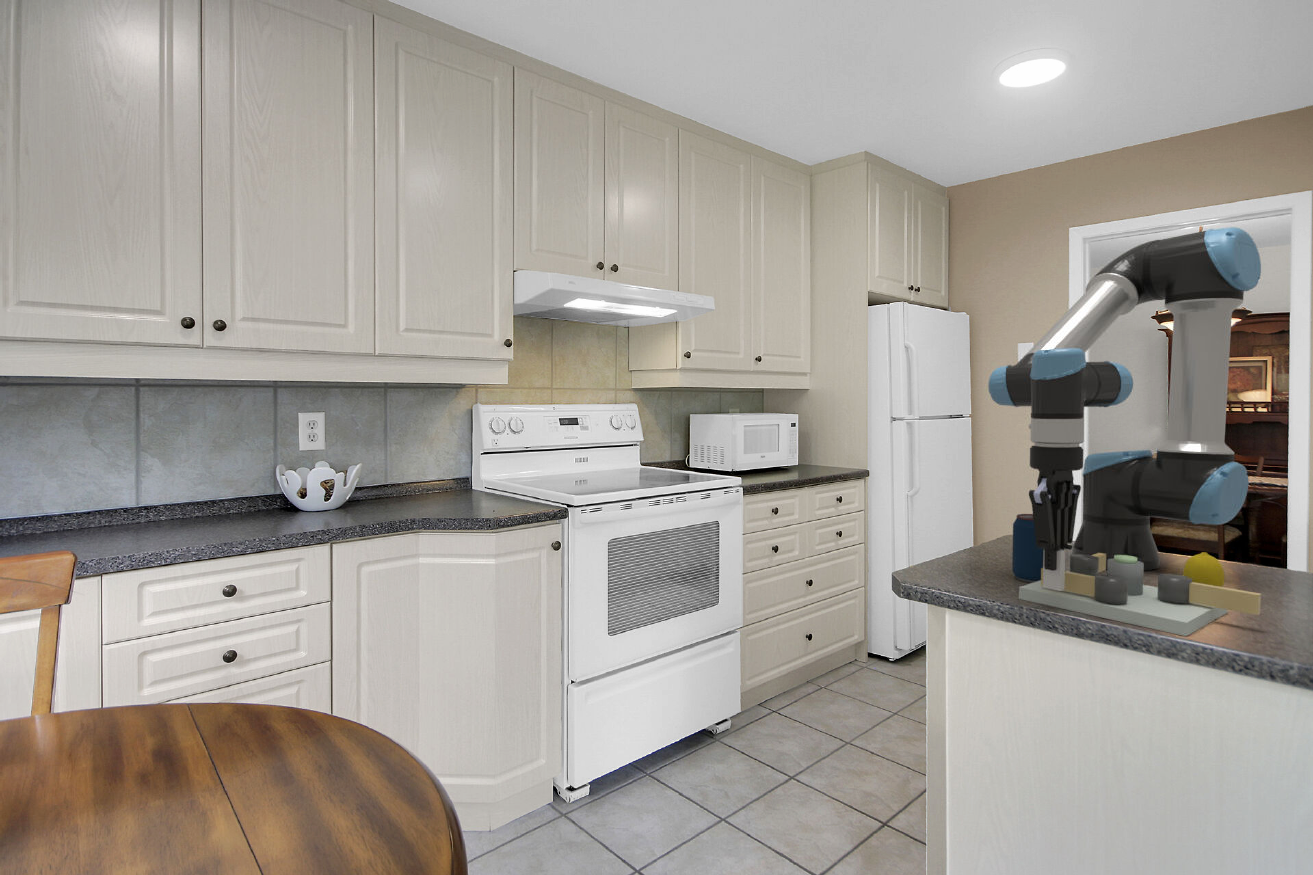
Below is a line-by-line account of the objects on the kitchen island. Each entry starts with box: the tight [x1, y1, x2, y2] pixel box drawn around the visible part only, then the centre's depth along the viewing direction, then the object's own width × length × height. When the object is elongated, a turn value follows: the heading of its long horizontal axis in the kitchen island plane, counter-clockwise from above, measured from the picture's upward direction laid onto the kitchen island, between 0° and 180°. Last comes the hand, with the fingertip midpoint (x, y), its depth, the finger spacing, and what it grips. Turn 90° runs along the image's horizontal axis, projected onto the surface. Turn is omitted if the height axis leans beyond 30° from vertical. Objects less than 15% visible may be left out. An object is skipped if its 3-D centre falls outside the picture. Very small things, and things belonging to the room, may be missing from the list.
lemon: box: [1182, 552, 1226, 587], centre depth 119 cm, size 6×6×8 cm
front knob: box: [1041, 568, 1128, 604], centre depth 115 cm, size 13×4×4 cm, turn 36°
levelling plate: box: [1018, 555, 1229, 637], centre depth 116 cm, size 18×24×8 cm
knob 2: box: [1157, 573, 1262, 616], centre depth 108 cm, size 13×4×4 cm, turn 36°
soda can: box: [1011, 513, 1044, 583], centre depth 133 cm, size 7×7×12 cm
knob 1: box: [1069, 553, 1107, 576], centre depth 128 cm, size 10×4×4 cm, turn 126°
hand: (1053, 588), depth 115 cm, fingers closed
